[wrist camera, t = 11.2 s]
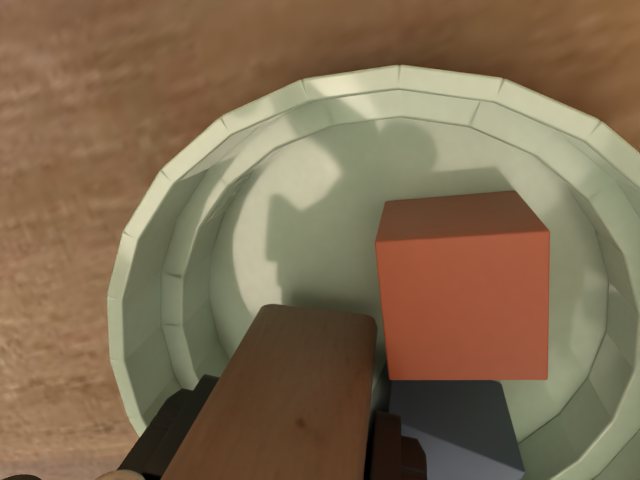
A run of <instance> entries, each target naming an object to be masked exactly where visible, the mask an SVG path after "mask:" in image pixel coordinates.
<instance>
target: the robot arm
mask: <svg viewBox="0 0 640 480" xmlns="http://www.w3.org/2000/svg"><path fill="white" fill-rule="evenodd" d="M219 378H220V377H217V376H212V375H207V374H204V375H203V376H202V377H201V379H200V380H199V382H198V384H197V385H196V387H195V388H194V390H188V389H184V388H182V389H180V390H179V391H177V392H176V393H175V394H173V395H172V396H170V397H169V398H167V399H166V401H165V402H164V404H163V405H162V407H161V408H160V409H159V411H158V413H157V415H155V417H154V418H153V419H152V421H151V422H150V425H149V426H148V427H147V428H146V429H145V431H144V432H143V434H142V435H141V437H140V438H139V439H138V441H137V442H136V444H135V445H134V447H133V448H132V449H131V451H130V452H129V454H128V455H127V457H126V458H125V459H124V461H123V462H122V464H121V465H120V467H119V468H118V469H117V470H115V471H111V472H108V473H106V474H104V475H102V476H100V477H98V478H97V479H96V480H161V478H162V476H163V474H164V473H165V471H166V469H167V468H168V466H169V464H170V462H171V461H172V459H173V457H174V456H175V454H176V452H177V450H178V449H179V447H180V445H181V444H182V442H183V440H184V438H185V437H186V435H187V433H188V432H189V430H190V428H191V426H192V425H193V423H194V421H195V420H196V418H197V416H198V414H199V413H200V411H201V409H202V408H203V406H204V404H205V402H206V401H207V399H208V397H209V396H210V394H211V392H212V390H213V389H214V387H215V385H216V384H217V382H218V380H219ZM3 480H41V479H40V478H38V477H36V476H33V475H27V474H25V475H15V476H11V477H8V478H5V479H3ZM363 480H427V462H426V454H425V452H424V450H423V448H422V446H421V444H420V442H419V441H418V439H416V438H411V437H406V436H402V435H401V415H397V414H392V413H387V412H383V411H378V410H375V413H374V417H373V422H372V427H371V432H370V437H369V442H368V447H367V452H366V458H365V467H364V477H363Z"/></svg>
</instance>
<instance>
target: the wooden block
mask: <svg viewBox="0 0 640 480" xmlns="http://www.w3.org/2000/svg"><path fill="white" fill-rule="evenodd" d="M377 331H378V327H377V324H376V322H375V319H374V318H373V317H371V316H369V315H367V314H358V313H349V312H341V311H332V310H323V309H314V308H306V307H297V306H288V305H279V304H267V305H264V306H262V307H261V308H260V310H259V311H258V313H257V315H256V317H255V318H254V320H253V322H252V323H251V325H250V327H249V329H248V330H247V332H246V334H245V335H244V337H243V339H242V341H241V342H240V344H239V346H238V347H237V349H236V351H235V353H234V354H233V356H232V358H231V360H230V361H229V363H228V365H227V366H226V368H225V370H224V372H223V373H222V375H221V377H220V378H219V380H218V382H217V384H216V385H215V387H214V389H213V390H212V392H211V394H210V396H209V397H208V399H207V401H206V402H205V404H204V406H203V408H202V409H201V411H200V413H199V414H198V416H197V418H196V420H195V421H194V423H193V425H192V426H191V428H190V430H189V432H188V433H187V435H186V437H185V438H184V440H183V442H182V444H181V445H180V447H179V449H178V450H177V452H176V454H175V456H174V457H173V459H172V461H171V462H170V464H169V466H168V468H167V469H166V471H165V473H164V474H163V476H162V478H161V480H363V477H364V467H365V458H366V447H367V437H368V427H369V417H370V406H371V396H372V385H373V374H374V363H375V352H376V341H377Z"/></svg>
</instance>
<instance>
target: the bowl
mask: <svg viewBox="0 0 640 480" xmlns="http://www.w3.org/2000/svg"><path fill="white" fill-rule="evenodd" d="M514 190H515V191H517V192H518V194H519V195H520V196H521V197H522V198H523V200H524V201H525V202H526V203H527V204H528V206H529V207H530V208H531V209H532V210H533V211H534V213H535V214H536V215H537V216H538V217H539V219H540V220H541V221H542V222H543V223H544V225H545V226H546V227H547V228H548V229H549V231H550V270H549V337H548V379H547V380H493V381H496V382H499V383H501V384H502V387H503V391H504V395H505V398H506V402H507V406H508V409H509V413H510V417H511V420H512V424H513V428H514V432H515V435H516V439H517V443H518V446H519V450H520V454H521V457H522V461H523V465H524V469H525V474H524V475H523V477H522V478H521V480H640V152H639V151H637V150H636V149H635V148H634V147H633V146H631V145H630V144H629V143H628V142H627V141H626V140H624V139H623V138H622V137H621V136H620V135H618V134H617V133H616V132H615V131H614V130H613V129H611V128H610V127H609V126H608V125H607V124H606V123H604V122H603V121H600V120H599V119H598V118H596V117H594V116H591V115H589V114H587V113H584V112H582V111H580V110H577V109H575V108H573V107H570V106H568V105H566V104H563V103H561V102H559V101H556V100H554V99H552V98H550V97H547V96H545V95H543V94H540V93H538V92H536V91H533V90H531V89H529V88H526V87H524V86H522V85H519V84H517V83H515V82H513V81H510V80H508V79H503V78H501V77H495V76H487V75H479V74H471V73H464V72H456V71H448V70H441V69H433V68H425V67H417V66H410V65H400V66H399V65H391V66H384V67H377V68H370V69H364V70H357V71H350V72H343V73H337V74H330V75H323V76H316V77H310V78H304V79H303V80H298V81H296V82H293V83H291V84H289V85H287V86H285V87H283V88H280V89H278V90H276V91H274V92H272V93H269V94H267V95H265V96H263V97H261V98H258V99H256V100H254V101H252V102H250V103H248V104H245V105H243V106H241V107H239V108H237V109H234V110H232V111H230V112H228V113H226V114H224V115H222V116H221V117H219V118H218V119H216V120H215V121H214V122H213V123H212V124H211V125H210V126H208V127H207V128H206V129H205V130H204V131H203V132H202V133H201V134H199V135H198V136H197V137H196V138H195V139H194V140H193V141H191V142H190V143H189V144H188V145H187V146H186V147H185V148H184V149H182V150H181V151H180V152H179V153H178V154H177V155H176V156H174V157H173V158H172V159H171V160H170V161H169V162H168V163H167V164H165V165H164V166H163V167H162V168H161V170H160V171H159V172H158V174H157V175H156V177H155V179H154V180H153V182H152V184H151V185H150V187H149V189H148V190H147V192H146V194H145V195H144V197H143V199H142V200H141V202H140V204H139V205H138V207H137V208H136V210H135V212H134V213H133V215H132V217H131V218H130V220H129V222H128V223H127V225H126V227H125V228H124V231H123V232H122V236H121V240H120V244H119V248H118V252H117V256H116V260H115V264H114V268H113V272H112V276H111V280H110V284H109V288H108V292H107V313H108V337H109V358H110V362H111V366H112V369H113V372H114V375H115V378H116V382H117V385H118V388H119V391H120V395H121V398H122V401H123V404H124V407H125V411H126V414H127V417H129V421H130V423H131V424H132V426H133V428H134V429H135V431H136V433H137V434H138V436H139V438H140V437H141V435H142V434H143V432H144V431H145V429H146V428H147V427H148V426H149V425H150V422H151V421H152V419H153V418H154V417H155V415H157V413H158V411H159V409H160V408H161V407H162V405H163V404H164V402H165V401H166V399H167V398H169V397H170V396H172V395H173V394H175V393H176V392H177V391H179V390H180V389H182V388H184V389H188V390H194V388H195V387H196V385H197V384H198V382H199V380H200V379H201V377H202V376H203V375H204V374H207V375H212V376H217V377H221V375H222V373H223V372H224V370H225V368H226V366H227V365H228V363H229V361H230V360H231V358H232V356H233V354H234V353H235V351H236V349H237V347H238V346H239V344H240V342H241V341H242V339H243V337H244V335H245V334H246V332H247V330H248V329H249V327H250V325H251V323H252V322H253V320H254V318H255V317H256V315H257V313H258V311H259V310H260V308H261V307H262V306H264V305H267V304H279V305H288V306H297V307H306V308H314V309H323V310H332V311H341V312H349V313H358V314H367V315H369V316H371V317H373V318H374V319H375V322H376V324H377V327H378V331H377V341H376V352H375V363H374V374H373V385H372V392H373V389H374V387H375V385H376V383H377V380H378V378H379V376H380V374H381V371H382V369H383V367H384V365H385V362H386V360H387V357H386V348H385V338H384V329H383V319H382V310H381V300H380V291H379V281H378V272H377V262H376V253H375V239H376V235H377V232H378V228H379V224H380V220H381V216H382V212H383V208H384V204H385V202H386V201H395V200H407V199H419V198H431V197H443V196H455V195H467V194H478V193H490V192H502V191H514Z"/></svg>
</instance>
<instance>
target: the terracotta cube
mask: <svg viewBox="0 0 640 480" xmlns="http://www.w3.org/2000/svg"><path fill="white" fill-rule="evenodd" d="M375 253H376V262H377V272H378V281H379V291H380V300H381V310H382V319H383V329H384V338H385V348H386V357H387V367H388V376H389V379H390V380H547V379H548V337H549V270H550V231H549V229H548V228H547V227H546V226H545V225H544V223H543V222H542V221H541V220H540V219H539V217H538V216H537V215H536V214H535V213H534V211H533V210H532V209H531V208H530V207H529V206H528V204H527V203H526V202H525V201H524V200H523V198H522V197H521V196H520V195H519V194H518V192H517V191H515V190H514V191H502V192H490V193H478V194H467V195H455V196H443V197H431V198H419V199H407V200H395V201H386V202H385V204H384V208H383V212H382V216H381V220H380V224H379V228H378V232H377V235H376V239H375Z"/></svg>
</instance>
